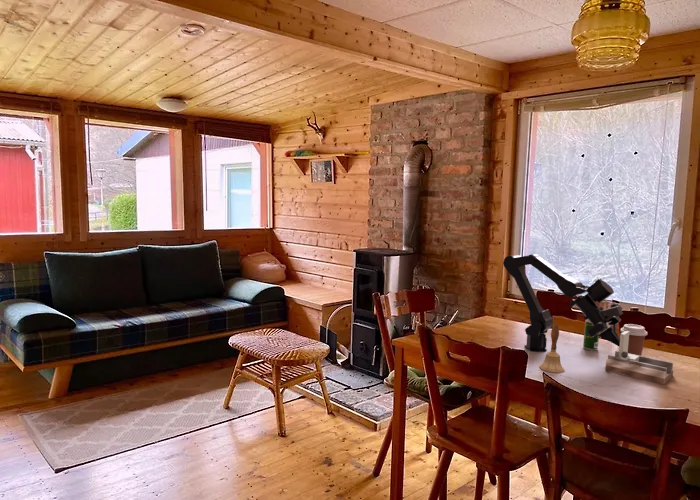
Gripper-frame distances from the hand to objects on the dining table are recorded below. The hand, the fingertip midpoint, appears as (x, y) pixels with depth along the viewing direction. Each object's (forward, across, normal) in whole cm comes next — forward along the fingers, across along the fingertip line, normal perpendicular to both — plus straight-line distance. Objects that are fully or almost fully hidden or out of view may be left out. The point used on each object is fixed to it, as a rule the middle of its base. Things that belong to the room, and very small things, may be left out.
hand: (621, 345), depth 182 cm
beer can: (-5, +18, +17) cm, 25 cm away
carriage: (+6, -2, +2) cm, 7 cm away
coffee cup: (+5, +18, +7) cm, 20 cm away
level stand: (+10, 0, +2) cm, 10 cm away
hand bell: (-6, -19, +18) cm, 26 cm away
